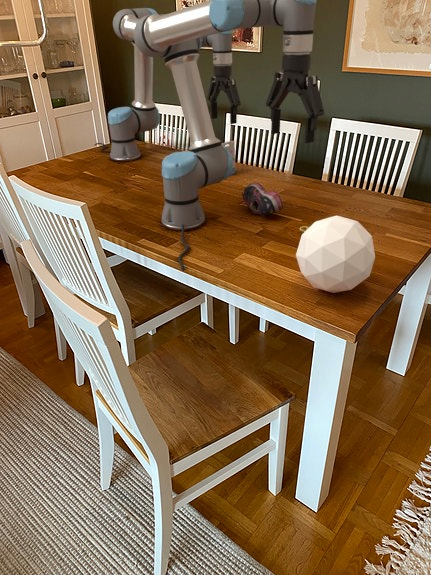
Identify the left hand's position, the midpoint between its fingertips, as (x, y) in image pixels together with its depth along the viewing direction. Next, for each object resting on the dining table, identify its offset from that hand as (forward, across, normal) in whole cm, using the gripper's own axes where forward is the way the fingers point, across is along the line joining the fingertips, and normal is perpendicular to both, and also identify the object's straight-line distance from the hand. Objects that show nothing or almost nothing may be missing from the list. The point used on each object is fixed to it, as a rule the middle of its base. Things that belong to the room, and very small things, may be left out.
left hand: (223, 121), depth 186 cm
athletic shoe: (+23, +41, -15) cm, 50 cm away
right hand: (-9, +65, -24) cm, 70 cm away
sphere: (+23, +93, -33) cm, 101 cm away
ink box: (+23, 0, 0) cm, 23 cm away
